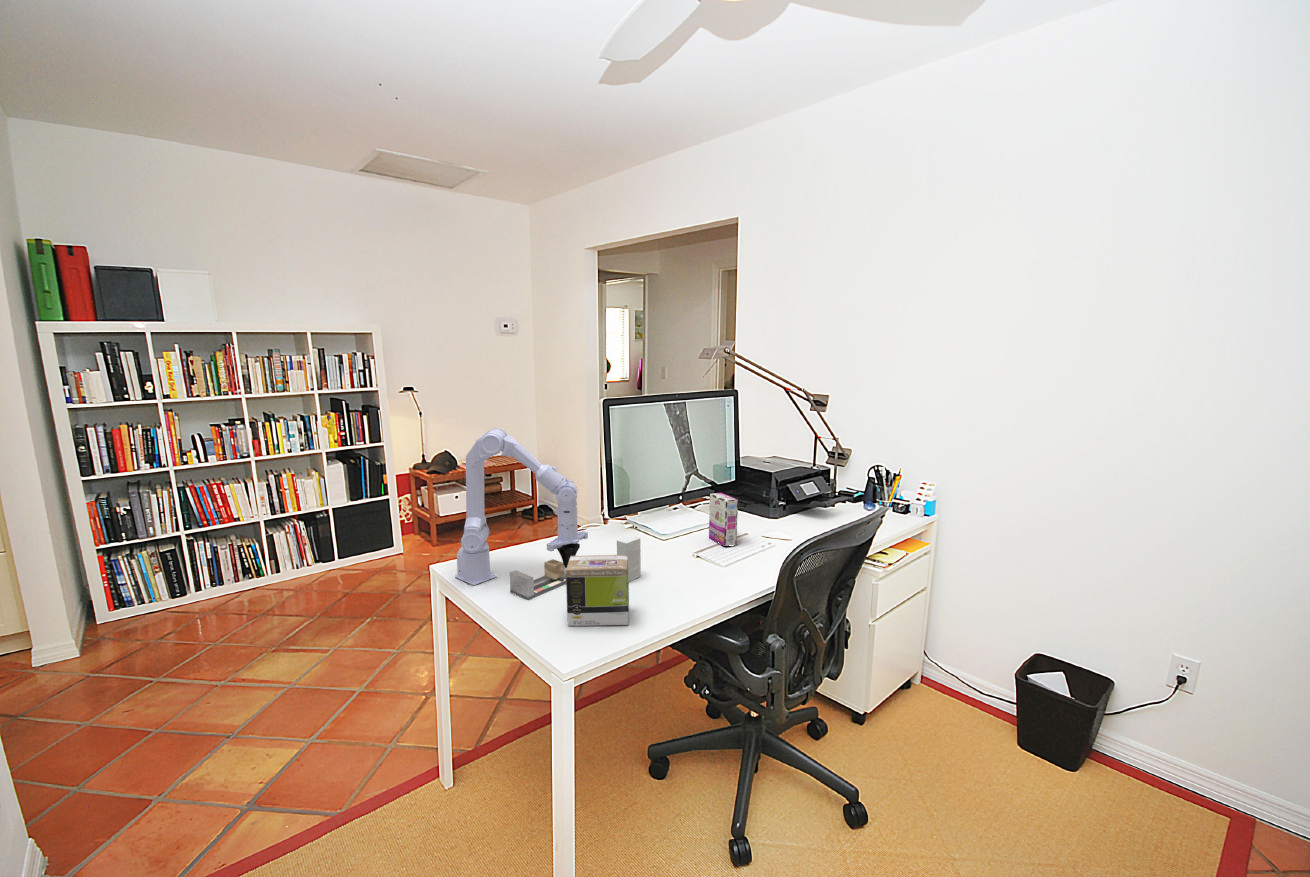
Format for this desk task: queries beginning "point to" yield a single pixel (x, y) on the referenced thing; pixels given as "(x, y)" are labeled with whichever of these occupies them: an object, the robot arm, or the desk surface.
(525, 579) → the gauge bed
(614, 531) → the desk surface
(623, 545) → the skincare box
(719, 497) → the candy bar box
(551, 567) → the gauge slider
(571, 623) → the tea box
